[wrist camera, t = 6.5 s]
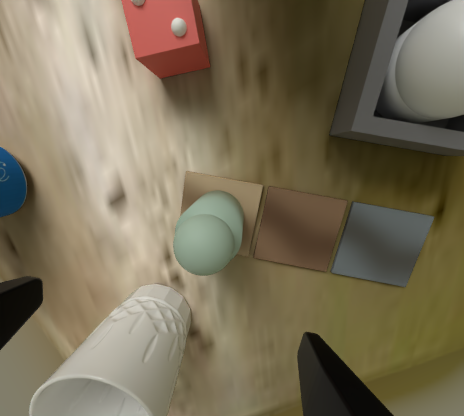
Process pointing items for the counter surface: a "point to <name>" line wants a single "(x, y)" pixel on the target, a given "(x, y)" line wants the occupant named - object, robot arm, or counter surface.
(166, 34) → the red die
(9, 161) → the beverage can
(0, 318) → the robot arm
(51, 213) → the counter surface
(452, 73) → the dome
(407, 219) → the game track
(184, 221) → the pawn
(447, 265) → the counter surface
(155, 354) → the white cup
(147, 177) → the counter surface
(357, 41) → the grey square tray
